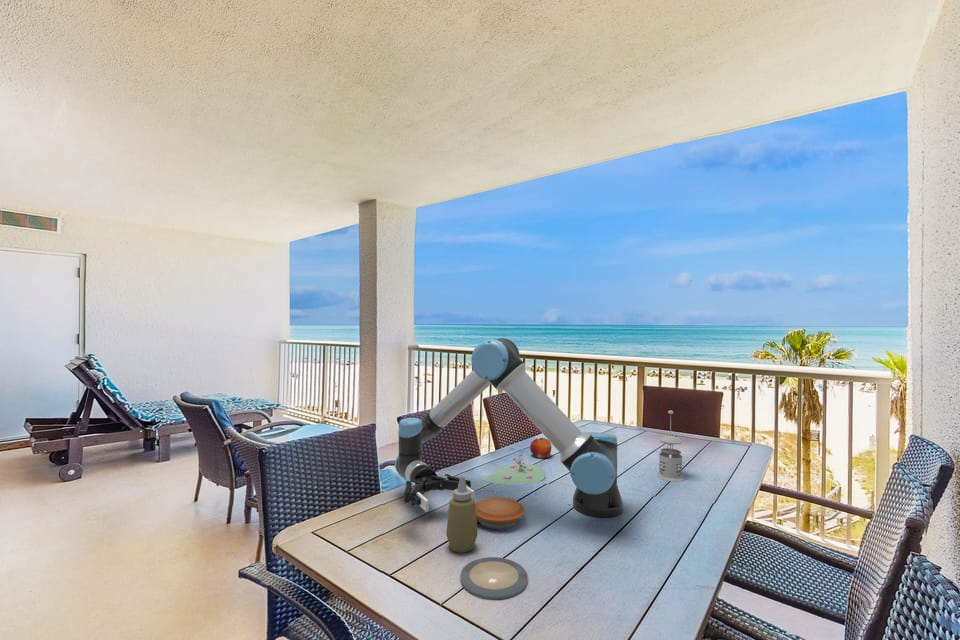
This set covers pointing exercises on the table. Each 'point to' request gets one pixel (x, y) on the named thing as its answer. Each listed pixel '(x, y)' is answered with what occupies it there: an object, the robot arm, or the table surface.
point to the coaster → (494, 578)
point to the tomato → (541, 447)
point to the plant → (516, 474)
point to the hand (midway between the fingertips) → (450, 501)
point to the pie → (499, 512)
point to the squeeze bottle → (462, 519)
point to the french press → (670, 459)
